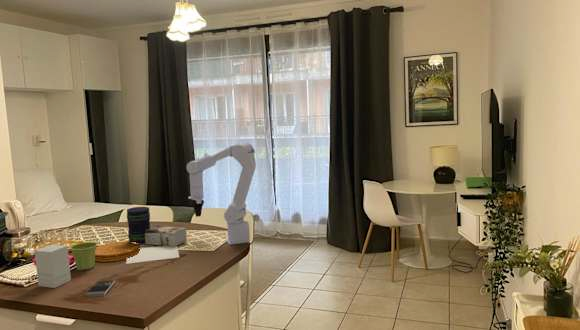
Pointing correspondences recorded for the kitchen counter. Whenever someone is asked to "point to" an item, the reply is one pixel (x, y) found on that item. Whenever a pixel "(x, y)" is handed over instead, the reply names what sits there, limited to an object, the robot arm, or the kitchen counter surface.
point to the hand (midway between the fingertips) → (198, 216)
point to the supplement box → (52, 266)
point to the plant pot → (84, 255)
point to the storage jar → (138, 223)
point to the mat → (154, 254)
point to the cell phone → (100, 288)
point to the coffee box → (165, 236)
